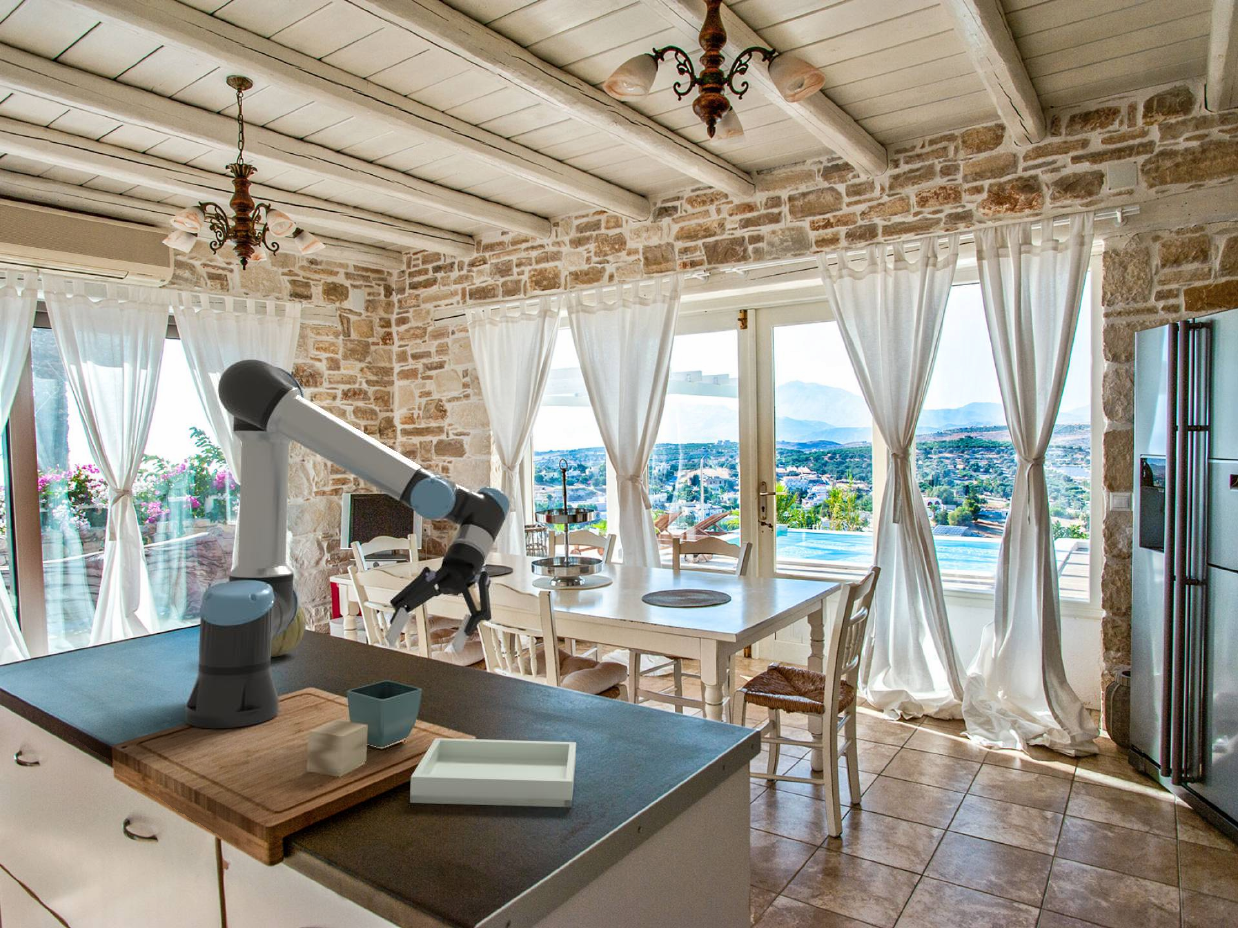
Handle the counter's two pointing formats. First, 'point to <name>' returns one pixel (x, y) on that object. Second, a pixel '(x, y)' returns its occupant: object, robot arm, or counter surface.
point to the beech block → (337, 747)
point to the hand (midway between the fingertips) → (422, 645)
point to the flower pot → (385, 710)
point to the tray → (495, 773)
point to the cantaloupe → (290, 635)
